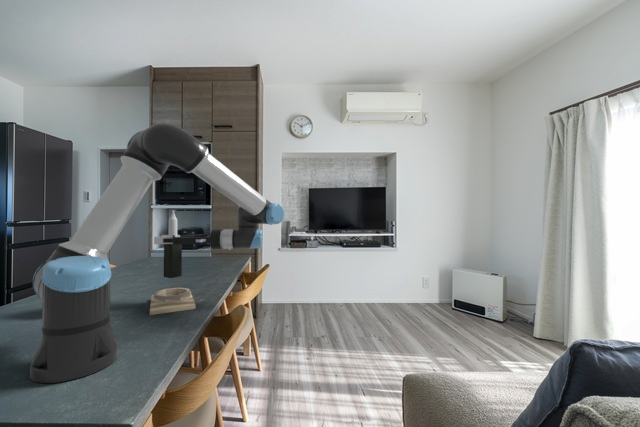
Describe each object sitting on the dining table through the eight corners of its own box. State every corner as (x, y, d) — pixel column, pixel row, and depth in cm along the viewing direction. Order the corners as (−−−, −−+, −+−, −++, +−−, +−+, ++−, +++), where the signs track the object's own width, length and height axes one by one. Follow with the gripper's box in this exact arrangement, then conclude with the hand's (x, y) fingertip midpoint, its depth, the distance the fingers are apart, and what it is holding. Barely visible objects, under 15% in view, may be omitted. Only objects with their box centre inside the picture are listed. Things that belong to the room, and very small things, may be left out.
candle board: (195, 308, 104) (195, 297, 104) (149, 315, 97) (149, 303, 97) (190, 295, 121) (190, 285, 121) (151, 299, 114) (151, 289, 114)
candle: (182, 275, 112) (183, 210, 112) (170, 278, 107) (170, 210, 107) (175, 274, 114) (175, 210, 114) (162, 276, 110) (162, 210, 110)
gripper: (216, 252, 104) (147, 252, 101) (226, 246, 123) (167, 246, 120) (217, 231, 104) (147, 231, 101) (226, 228, 123) (167, 228, 120)
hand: (158, 239), depth 110 cm, fingers closed on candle, 6 cm apart
